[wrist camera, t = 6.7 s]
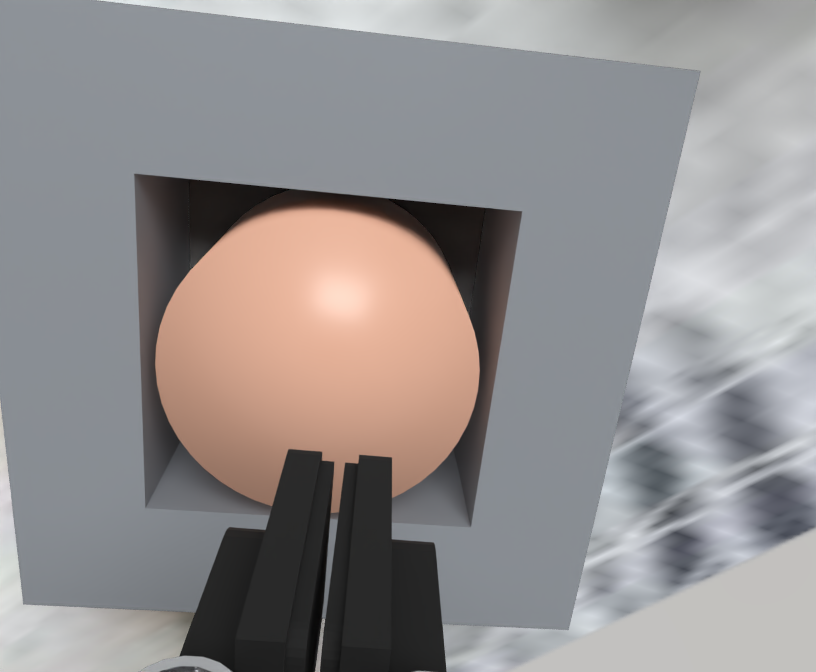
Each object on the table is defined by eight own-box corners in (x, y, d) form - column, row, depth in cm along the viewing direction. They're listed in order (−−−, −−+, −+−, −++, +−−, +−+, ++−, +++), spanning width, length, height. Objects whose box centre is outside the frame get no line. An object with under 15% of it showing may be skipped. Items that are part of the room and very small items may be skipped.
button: (472, 198, 21) (502, 234, 16) (440, 433, 24) (457, 521, 19) (202, 171, 20) (151, 201, 15) (202, 416, 23) (158, 504, 18)
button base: (624, 71, 20) (700, 71, 15) (533, 529, 26) (568, 629, 21) (57, 6, 19) (-47, -16, 14) (90, 503, 24) (23, 604, 20)
